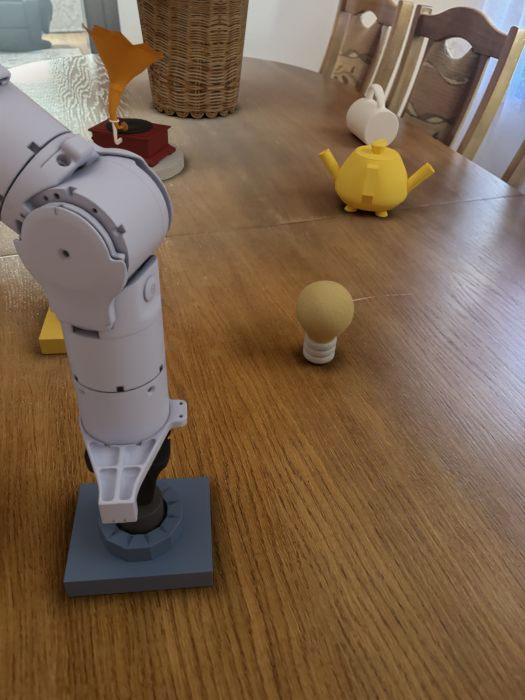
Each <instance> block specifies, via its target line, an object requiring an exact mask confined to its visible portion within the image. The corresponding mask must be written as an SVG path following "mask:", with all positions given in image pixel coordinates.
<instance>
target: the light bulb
mask: <svg viewBox="0 0 525 700" xmlns="http://www.w3.org/2000/svg"><path fill="white" fill-rule="evenodd" d="M295 306H296V307H295V314H296V318H297V320H298V323H299V325H300V326H301V329H303V330H304V332H305V334H304V337H303V338H304V339H303V347H302V355H303V356H304V358H305V359H306V360H307V361H309V362H311V363H313V364H317V365H322V364H326V363H330V362H331V361H332V360H333V359H334V357H335V353H336V352H335V351H336V348H337V343H338V342H337V341H338V336H340V335H341V334H342V333H343V332H345V331H346V330H347V329H348V327H349V326H350V324H351V323H352V321H353V318H354V314H355V304H354V299H353V297H352V295H351V294H350V292H349V290H347V289H346V287H345V286H343V284H340V282H339V283H338V282H337V281H334V280H318V281H314V282H312V283H310V284H308V285H306V286H305V287H304V288H302V290H301V291H300V293H299V295H298V297H297V301H296V304H295Z"/></svg>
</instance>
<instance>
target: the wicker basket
mask: <svg viewBox="0 0 525 700" xmlns="http://www.w3.org/2000/svg"><path fill="white" fill-rule="evenodd" d="M249 4H250V0H136V6H137V12H138V18H139V25H140V31H141V36H142V37H141V38H142V43H147V42H148V44H149V45H150V47H151V48H152V50H153V51H154V52H164V54H163V55H162V56H163V57H164V58H161V59H158V60H156V61H155V62H154V63H152V64H151V65H150V66H149V67H148V68H147V69H146V71H147V75H148V81H149V86H150V87H149V88H150V93H151V99H152V104H153V108H155V109H156V110H157V112H159V113H162V112H164V113H165V114H166V115H167V116H173V115H174V114H176V115H177V116H178V117H179V118H181V119H184V118H187V117H188V116H189V114H190V116H191V118H194V119H195V120H198V119H201V118H203V116H204V115H205V116H206V117H207V118H208V119H214V118H216V117H217V116H218V114H219V115H220V116H221V117H225V116H227V114H228V113H230V114H233V113H234V112H235V110H237V108H238V101H239V92H240V84H241V75H242V67H243V58H244V57H243V56H244V50H245V49H244V48H245V40H246V32H247V31H246V30H247V22H248V21H247V20H248V14H249V13H248V10H249Z"/></svg>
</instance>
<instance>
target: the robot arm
mask: <svg viewBox="0 0 525 700" xmlns="http://www.w3.org/2000/svg"><path fill="white" fill-rule="evenodd" d="M11 77H12V73H11V72H10V70H9V69H7V68H6V67H5V66H4V65H2V64H1V63H0V222H1V223H2V224H3V225H5V226H6V227H8V228H9V229H11V230H12V231H13V232H14V233H15V234H17V235H18V238H14V239H13V240H12V241H13V245H14V248H15V251H16V252H17V255H18V257H19V259H20V261H21V263H22V265H23V266H24V267H25V269H26V270H27V271H28V273H29V274H30V275H31V276H32V277H33V279H34V280H35V281H36V282H37V283H38V284H39V286H41V288H42V289H43V291H44V293H45V295H46V298H47V302H48V305H49V306H50V310H51V312H53V313H55V314H56V317H57V319H58V320H59V321H60V323H61V328H62V332H63V337H64V342H65V346H66V351H67V353H66V354H67V360H68V363H69V368H70V373H71V378H72V383H73V388H74V391H75V397H76V400H77V404H78V405H77V406H78V410H79V413H78V424H79V429H80V434H81V437H82V440H83V443H84V446H85V449H84V454H83V457H84V462H85V466H86V468H87V470H88V471H89V472H90V473H93V474H94V477H95V480H96V483H98V487H99V499H98V506H99V510H100V515H101V519H102V523H103V524H106V523H125V522H136V521H137V514H138V508H137V504H150V503H151V502H152V500H153V497H154V494H155V487H156V481H157V479H159V476H160V474H161V473H162V472H163V470H164V469H166V468H167V467H168V464H169V461H170V459H171V446H172V445H171V443H172V439H171V438H169V437H170V436H171V434H172V430H173V429H177V428H183V427H185V426H186V425H187V424H188V404H187V401H185V400H183V399H173V398H170V395H169V385H168V384H169V383H168V372H167V371H168V370H167V357H166V344H165V332H164V331H165V330H164V320H163V319H164V318H163V306H162V305H163V304H162V295H161V294H162V293H161V284H160V283H161V281H160V270H159V269H160V268H159V258H158V256H157V255H156V254H153V253H154V252H155V251H156V250H157V249H158V248H159V247H160V246H161V245H162V244H163V242H164V241H165V238H166V237H167V236H168V234H169V233H170V230H171V228H172V224H173V218H174V210H173V203H172V200H171V196H170V194H169V191H168V189H167V187H166V185H165V184H164V182H163V180H162V181H161V179H160V178H159V177H158V175H157V174H156V173H155V172H154V171H153V170H152V169H151V168H150V167H149V166H148V165H147V163H146V162H145V160H144V159H143V158H142V157H141V156H139V155H137V154H135V153H133V152H130V151H127V150H124V149H118V148H102V147H100V146H98V145H96V144H95V143H94V142H93V140H92V139H89V140H87V139H86V138H84V136H82V135H81V134H79V133H74V132H73V131H72V130H70V129H69V128H68V127H67V126H65V125H64V124H63V123H62V122H60V121H59V120H58V119H57V118H56V117H54V115H52V114H51V113H50V112H49V111H48V110H46V109H45V108H44V107H42V106H41V104H39V103H38V102H36V101H35V100H34V99H33V98H31V96H29V95H28V94H27V93H25V92H24V91H23V90H22V89H21V88H19V87H18V86H17V85H16V84H15V83H13V82H12V81H11ZM49 306H48V307H49Z"/></svg>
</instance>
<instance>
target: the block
mask: <svg viewBox="0 0 525 700" xmlns="http://www.w3.org/2000/svg"><path fill="white" fill-rule="evenodd" d="M156 485H157V486H158V487H159V488H160V490H161V492H162V497H163V506H164V516H163V519H162V521H161V523H160V524H159V525H158V526H157V527H156V528H155V529H153V530H152V531H150V532H147V533H144V534H132V533H129V532H127V531H125V530H124V529H123V528H122V527H121V526H120V524H119V523H106V524H103V523H102V519H101V515H100V510H99V506H98V499H99V487H98V483H97V482H84V483H83V482H82V483H80V485H79V491H78V496H77V501H76V508H75V513H74V519H73V524H72V530H71V534H70V535H71V536H70V540H69V547H68V553H67V558H66V564H65V570H64V575H63V579H62V580H63V581H62V584H63V586H64V589H65V592H66V595H67V597H68V598H75V597H86V596H98V595H112V594H125V593H127V594H128V593H139V592H150V591H152V592H153V591H164V590H177V589H178V590H179V589H190V588H191V589H192V588H204V587H213V586H214V567H213V566H214V565H213V545H212V543H213V541H212V521H211V520H212V517H211V495H210V494H211V493H210V476H191V477H174V478H172V477H171V478H157V481H156Z"/></svg>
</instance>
